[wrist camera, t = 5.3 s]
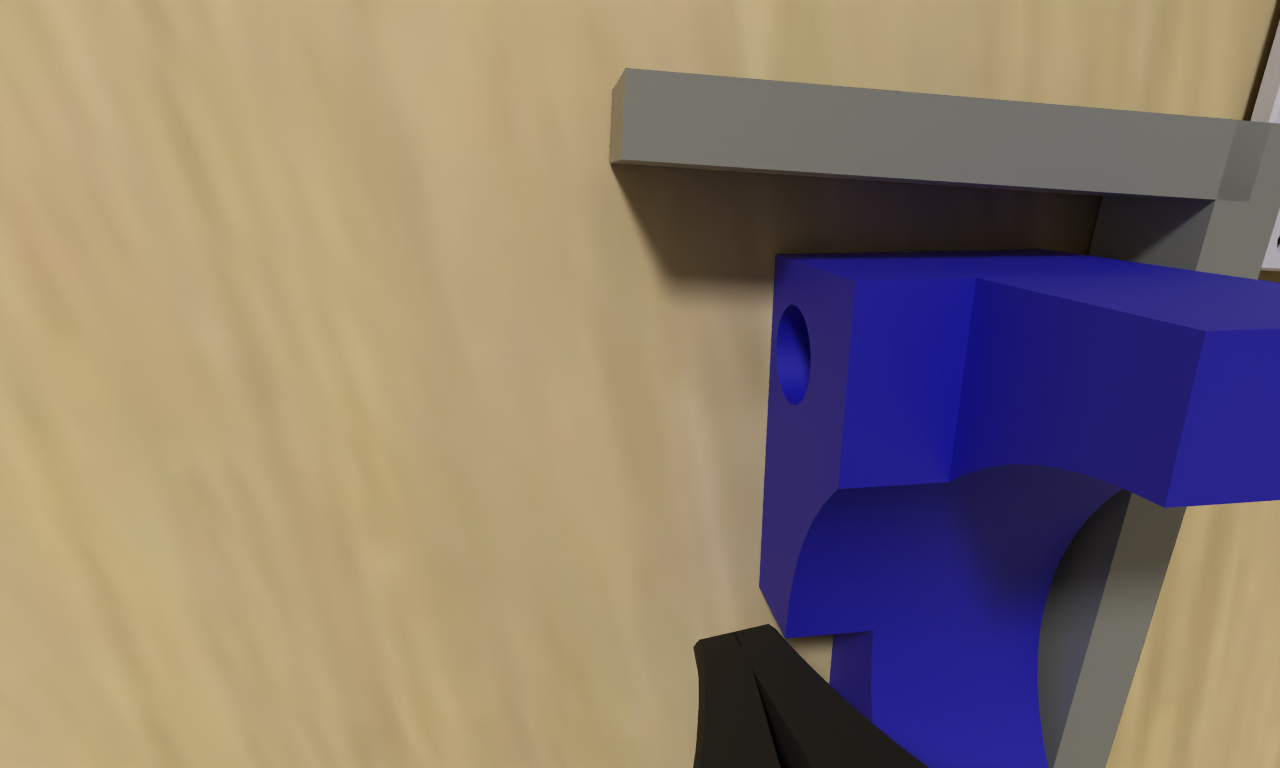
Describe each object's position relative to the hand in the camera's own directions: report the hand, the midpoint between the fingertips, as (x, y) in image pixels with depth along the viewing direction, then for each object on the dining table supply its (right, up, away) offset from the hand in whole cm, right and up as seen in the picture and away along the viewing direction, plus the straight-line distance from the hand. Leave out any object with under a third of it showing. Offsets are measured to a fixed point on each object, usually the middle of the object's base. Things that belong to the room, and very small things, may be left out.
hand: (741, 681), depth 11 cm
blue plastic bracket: (+3, +1, +2) cm, 3 cm away
